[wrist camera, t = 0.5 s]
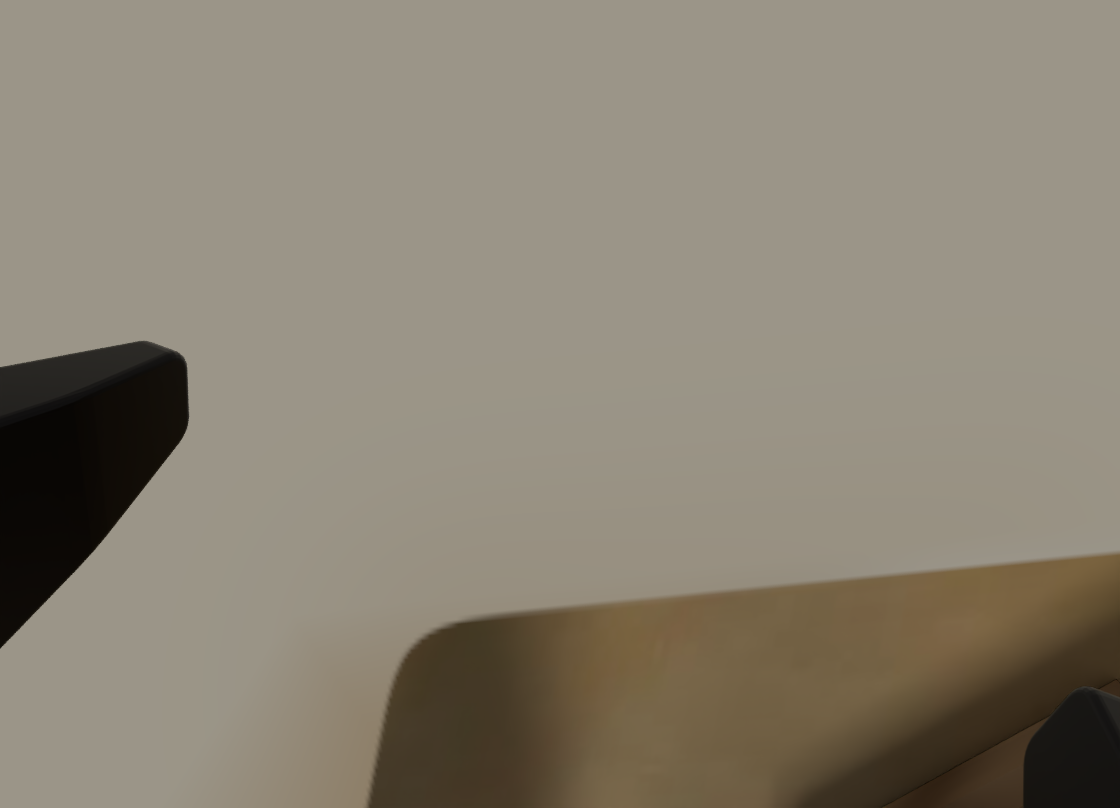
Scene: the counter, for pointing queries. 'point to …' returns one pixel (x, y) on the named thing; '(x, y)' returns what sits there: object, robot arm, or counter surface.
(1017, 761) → the bottle rest
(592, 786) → the counter surface
